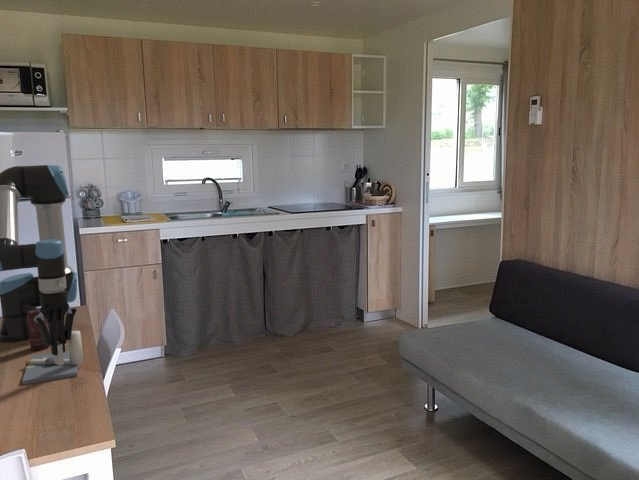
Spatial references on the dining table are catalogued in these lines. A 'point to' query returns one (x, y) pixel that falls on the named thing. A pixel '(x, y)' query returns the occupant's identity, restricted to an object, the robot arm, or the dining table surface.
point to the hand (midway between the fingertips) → (59, 363)
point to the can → (36, 331)
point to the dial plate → (48, 370)
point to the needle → (73, 349)
